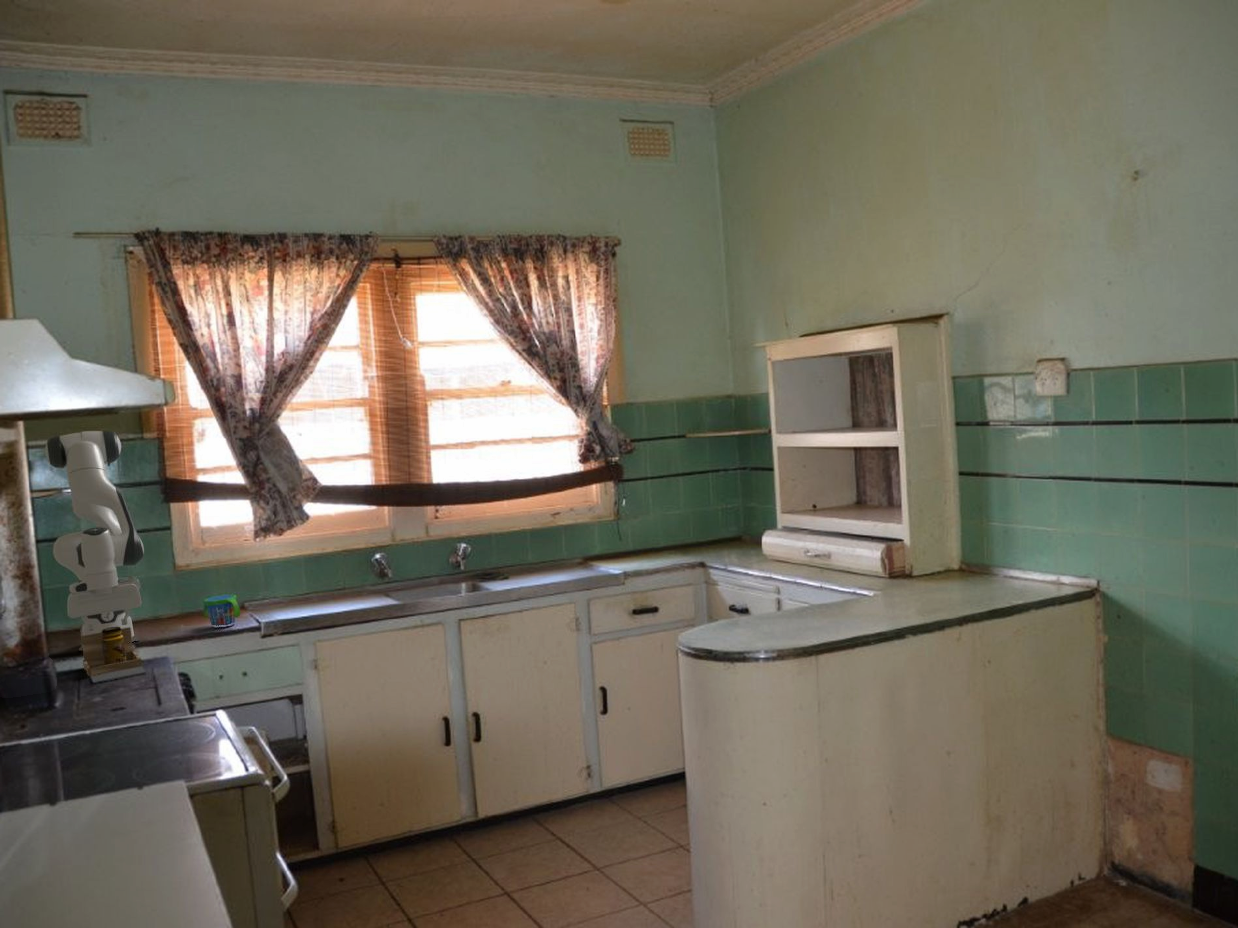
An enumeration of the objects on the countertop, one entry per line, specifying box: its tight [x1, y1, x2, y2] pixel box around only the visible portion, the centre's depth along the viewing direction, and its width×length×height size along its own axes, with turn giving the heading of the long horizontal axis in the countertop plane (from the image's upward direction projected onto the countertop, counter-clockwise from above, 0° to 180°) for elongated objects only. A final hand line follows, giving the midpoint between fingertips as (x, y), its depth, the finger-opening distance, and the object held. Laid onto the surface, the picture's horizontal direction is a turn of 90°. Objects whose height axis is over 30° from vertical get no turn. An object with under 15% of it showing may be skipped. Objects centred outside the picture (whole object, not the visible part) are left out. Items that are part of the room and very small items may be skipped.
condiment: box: [102, 627, 126, 665], centre depth 333 cm, size 7×8×12 cm
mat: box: [89, 665, 147, 684], centre depth 321 cm, size 9×14×1 cm, turn 121°
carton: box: [80, 627, 143, 677], centre depth 333 cm, size 16×15×10 cm
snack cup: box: [203, 594, 241, 626], centre depth 382 cm, size 16×10×10 cm
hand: (107, 627), depth 332 cm, fingers open, 8 cm apart
